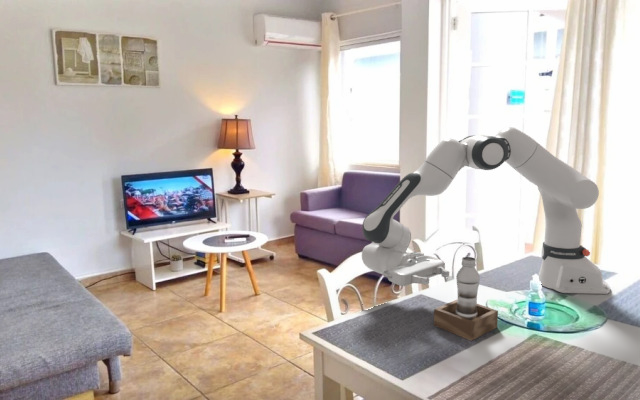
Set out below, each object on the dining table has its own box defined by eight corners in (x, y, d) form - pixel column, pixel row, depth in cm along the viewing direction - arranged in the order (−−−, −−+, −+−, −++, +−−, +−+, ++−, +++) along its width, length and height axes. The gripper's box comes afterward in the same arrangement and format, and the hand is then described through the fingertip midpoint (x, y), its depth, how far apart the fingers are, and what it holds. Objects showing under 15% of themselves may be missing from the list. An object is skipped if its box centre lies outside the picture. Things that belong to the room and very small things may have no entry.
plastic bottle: (475, 321, 145) (478, 255, 141) (479, 331, 138) (483, 262, 135) (452, 320, 146) (454, 254, 142) (456, 331, 139) (458, 262, 135)
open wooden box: (460, 313, 150) (460, 298, 149) (497, 327, 141) (498, 310, 140) (433, 325, 143) (434, 308, 142) (471, 340, 133) (471, 323, 132)
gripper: (379, 263, 151) (415, 275, 140) (423, 251, 163) (459, 260, 153) (379, 283, 152) (414, 296, 141) (423, 269, 165) (458, 280, 154)
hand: (438, 278), depth 147 cm, fingers open, 8 cm apart
